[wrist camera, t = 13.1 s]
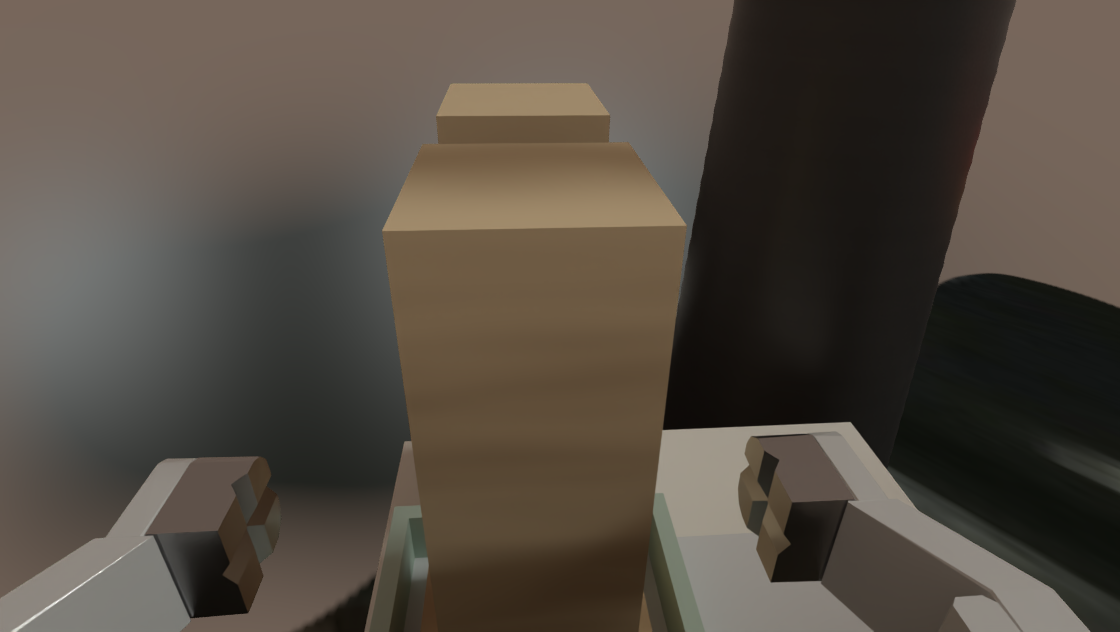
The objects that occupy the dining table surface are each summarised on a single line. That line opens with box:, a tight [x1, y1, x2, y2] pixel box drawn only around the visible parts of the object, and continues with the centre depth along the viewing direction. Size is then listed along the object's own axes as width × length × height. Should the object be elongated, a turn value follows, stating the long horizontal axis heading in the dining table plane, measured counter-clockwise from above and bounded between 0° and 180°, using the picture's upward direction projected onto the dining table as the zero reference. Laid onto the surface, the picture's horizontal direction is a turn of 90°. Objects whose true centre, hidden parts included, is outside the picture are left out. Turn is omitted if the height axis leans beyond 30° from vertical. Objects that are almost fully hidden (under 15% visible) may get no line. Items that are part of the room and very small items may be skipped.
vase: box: [663, 0, 1016, 469], centre depth 32 cm, size 14×14×29 cm
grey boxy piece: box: [364, 83, 917, 632], centre depth 19 cm, size 15×19×24 cm
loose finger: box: [382, 142, 687, 632], centre depth 13 cm, size 6×6×14 cm
